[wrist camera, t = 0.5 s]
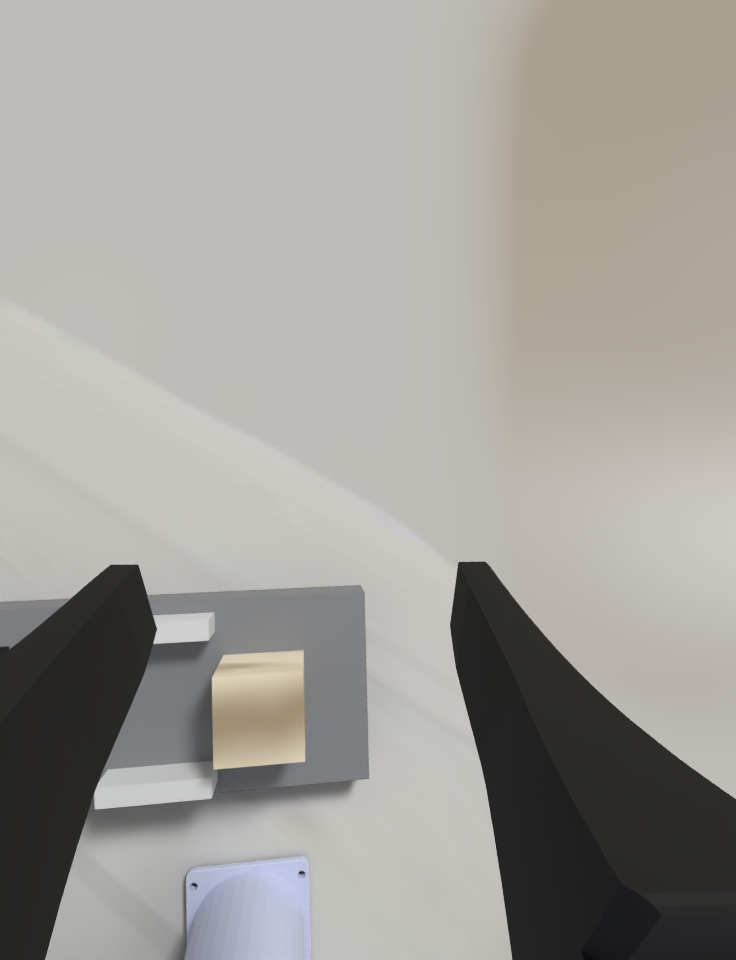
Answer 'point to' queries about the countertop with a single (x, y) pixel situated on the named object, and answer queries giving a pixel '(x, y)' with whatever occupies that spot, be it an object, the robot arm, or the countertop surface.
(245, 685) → the block
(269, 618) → the grey long flat tray
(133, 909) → the countertop surface
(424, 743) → the countertop surface
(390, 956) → the countertop surface
